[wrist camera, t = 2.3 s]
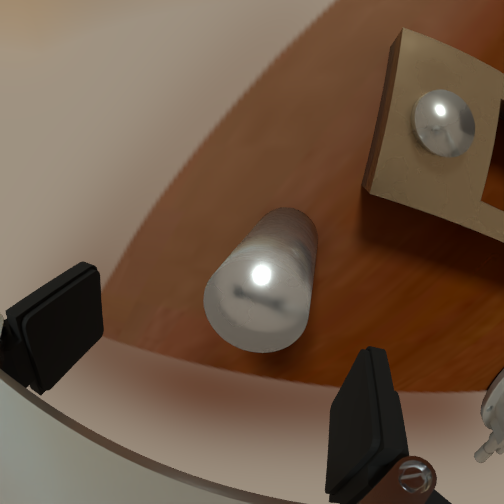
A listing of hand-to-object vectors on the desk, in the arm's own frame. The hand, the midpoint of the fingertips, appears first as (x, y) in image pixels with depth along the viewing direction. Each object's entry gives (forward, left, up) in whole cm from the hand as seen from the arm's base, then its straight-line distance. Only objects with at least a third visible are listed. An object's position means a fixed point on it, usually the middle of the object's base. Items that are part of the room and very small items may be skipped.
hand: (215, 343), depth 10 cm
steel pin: (0, -1, -13) cm, 13 cm away
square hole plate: (+10, -15, -13) cm, 22 cm away
